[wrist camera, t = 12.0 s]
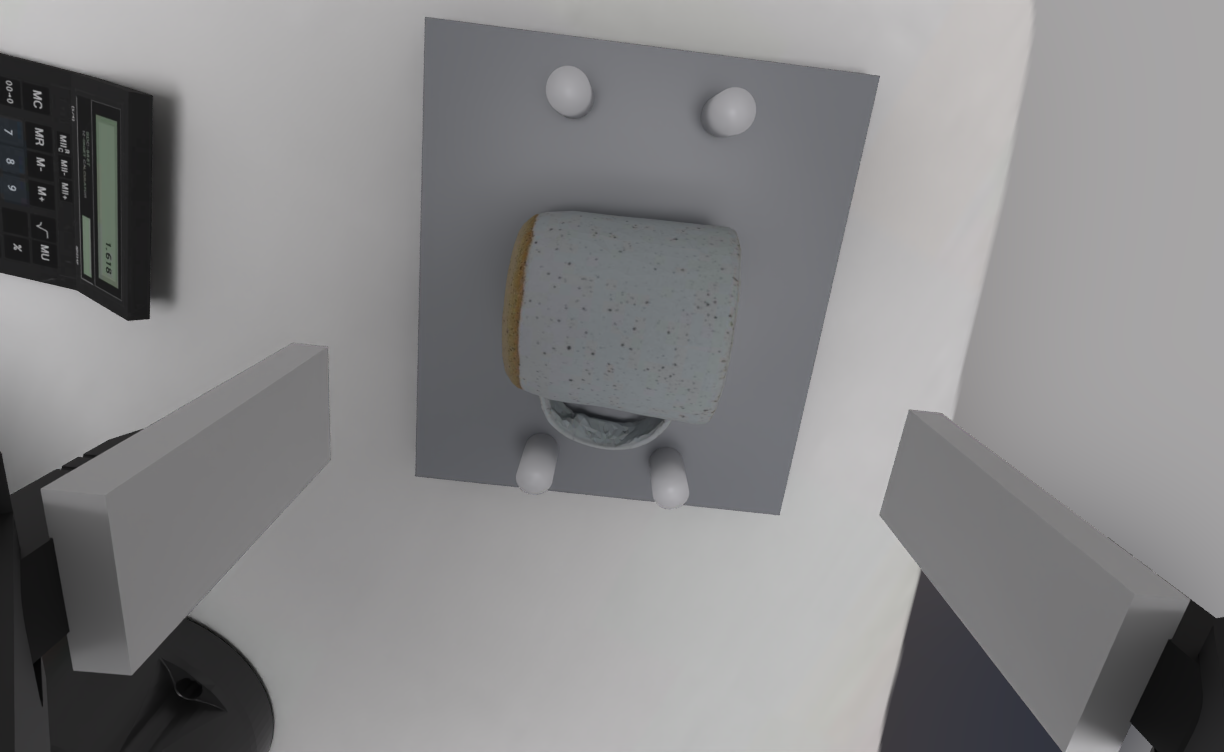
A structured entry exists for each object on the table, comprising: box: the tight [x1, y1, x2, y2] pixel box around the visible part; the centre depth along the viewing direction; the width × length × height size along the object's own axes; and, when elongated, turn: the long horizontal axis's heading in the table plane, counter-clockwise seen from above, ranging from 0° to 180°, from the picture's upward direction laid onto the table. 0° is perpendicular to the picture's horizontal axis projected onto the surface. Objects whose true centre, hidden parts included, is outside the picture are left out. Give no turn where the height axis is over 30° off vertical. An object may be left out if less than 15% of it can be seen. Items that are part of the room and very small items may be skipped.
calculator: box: [0, 53, 153, 321], centre depth 27 cm, size 9×12×3 cm
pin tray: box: [415, 17, 880, 515], centre depth 28 cm, size 18×20×4 cm
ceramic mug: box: [502, 211, 742, 450], centre depth 25 cm, size 11×8×8 cm
